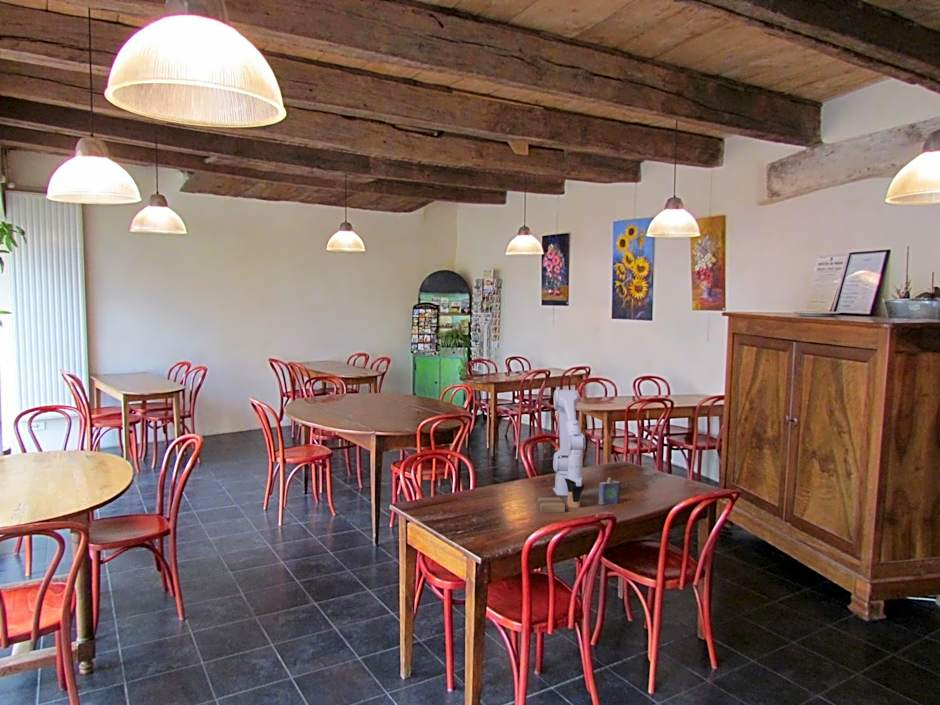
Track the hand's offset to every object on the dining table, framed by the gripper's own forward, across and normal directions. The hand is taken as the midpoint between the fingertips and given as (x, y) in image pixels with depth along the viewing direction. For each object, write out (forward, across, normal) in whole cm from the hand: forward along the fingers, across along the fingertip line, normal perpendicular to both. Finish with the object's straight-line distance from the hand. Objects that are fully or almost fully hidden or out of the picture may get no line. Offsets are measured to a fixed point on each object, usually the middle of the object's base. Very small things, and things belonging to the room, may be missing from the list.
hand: (573, 498), depth 258 cm
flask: (+3, -2, +15) cm, 15 cm away
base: (+3, +4, -10) cm, 11 cm away
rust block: (+3, 0, 0) cm, 3 cm away
